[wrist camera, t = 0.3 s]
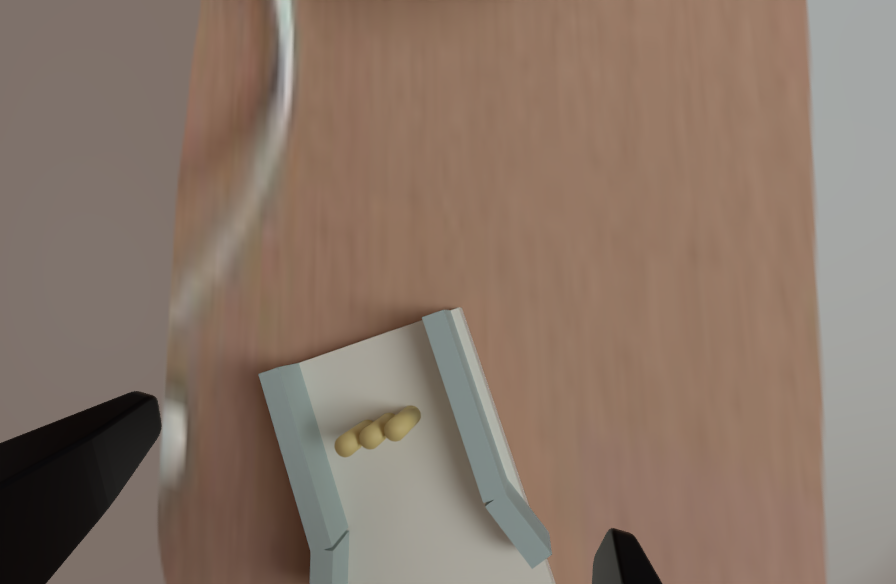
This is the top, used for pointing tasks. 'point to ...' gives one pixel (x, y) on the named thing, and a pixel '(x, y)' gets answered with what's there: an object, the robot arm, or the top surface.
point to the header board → (405, 463)
